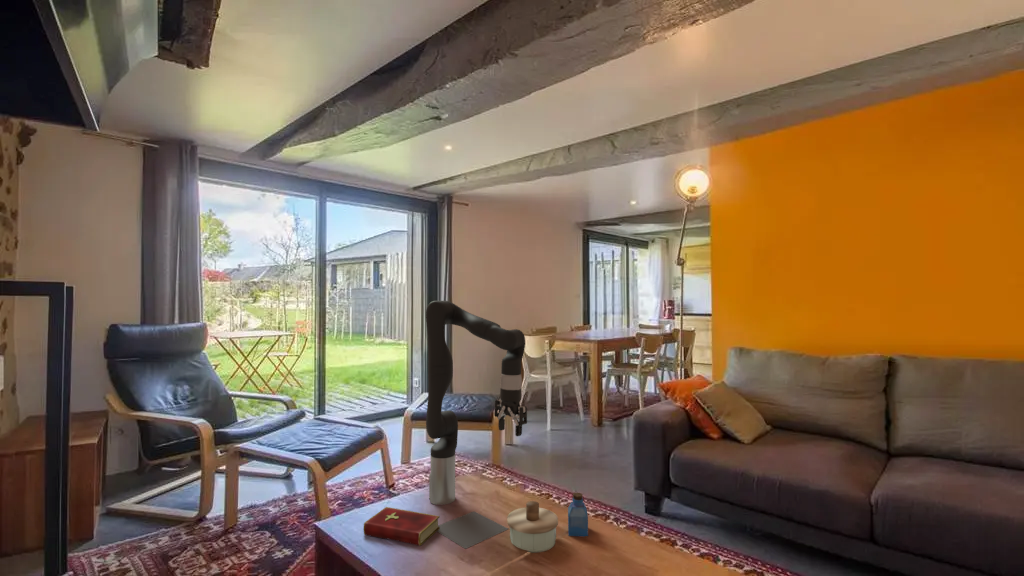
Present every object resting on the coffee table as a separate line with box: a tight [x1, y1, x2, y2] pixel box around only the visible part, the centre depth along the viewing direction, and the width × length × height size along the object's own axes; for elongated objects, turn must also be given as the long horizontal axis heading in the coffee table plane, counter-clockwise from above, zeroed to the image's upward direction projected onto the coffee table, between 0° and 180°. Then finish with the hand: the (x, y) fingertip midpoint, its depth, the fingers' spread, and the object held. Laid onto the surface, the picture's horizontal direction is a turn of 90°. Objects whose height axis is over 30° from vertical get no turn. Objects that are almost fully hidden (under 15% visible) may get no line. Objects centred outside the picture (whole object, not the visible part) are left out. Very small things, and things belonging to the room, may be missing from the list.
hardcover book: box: [363, 506, 440, 547], centre depth 155 cm, size 12×21×4 cm, turn 69°
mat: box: [436, 510, 509, 550], centre depth 157 cm, size 18×18×1 cm
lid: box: [506, 500, 559, 534], centre depth 150 cm, size 16×16×6 cm
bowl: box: [509, 526, 557, 554], centre depth 150 cm, size 14×14×6 cm
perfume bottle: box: [567, 492, 589, 537], centre depth 156 cm, size 6×6×12 cm
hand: (509, 432), depth 167 cm, fingers open, 8 cm apart
